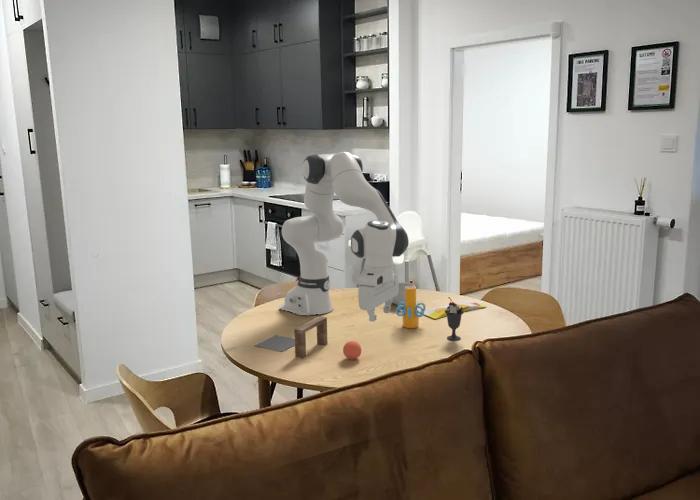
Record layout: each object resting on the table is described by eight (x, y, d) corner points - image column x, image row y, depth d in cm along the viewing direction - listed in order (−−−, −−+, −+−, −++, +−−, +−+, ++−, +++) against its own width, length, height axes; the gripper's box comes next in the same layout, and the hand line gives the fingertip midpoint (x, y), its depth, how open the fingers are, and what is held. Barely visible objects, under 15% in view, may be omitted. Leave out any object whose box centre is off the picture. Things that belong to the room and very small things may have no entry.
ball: (339, 360, 202) (339, 342, 201) (349, 354, 207) (348, 337, 206) (355, 363, 199) (355, 346, 198) (364, 357, 204) (364, 340, 203)
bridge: (295, 356, 206) (294, 329, 203) (320, 342, 218) (319, 316, 216) (302, 358, 204) (301, 330, 202) (327, 343, 217) (326, 317, 215)
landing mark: (254, 345, 216) (254, 345, 216) (275, 335, 226) (275, 334, 226) (282, 352, 210) (282, 351, 210) (302, 340, 220) (302, 340, 220)
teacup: (416, 307, 255) (416, 288, 254) (389, 308, 256) (389, 289, 254) (413, 297, 269) (413, 280, 267) (388, 298, 269) (388, 280, 268)
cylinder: (423, 332, 226) (423, 292, 223) (394, 330, 229) (394, 291, 225) (426, 321, 238) (426, 283, 235) (398, 320, 240) (398, 282, 237)
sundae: (442, 335, 223) (442, 295, 219) (460, 334, 223) (461, 294, 220) (446, 342, 216) (447, 300, 213) (465, 341, 217) (466, 299, 213)
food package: (434, 316, 239) (418, 309, 248) (434, 321, 240) (418, 315, 248) (487, 303, 253) (470, 298, 262) (486, 309, 254) (470, 303, 262)
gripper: (385, 265, 202) (386, 306, 205) (354, 280, 185) (355, 324, 188) (403, 267, 199) (403, 309, 202) (372, 282, 182) (373, 327, 185)
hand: (380, 316), depth 195 cm, fingers open, 8 cm apart
